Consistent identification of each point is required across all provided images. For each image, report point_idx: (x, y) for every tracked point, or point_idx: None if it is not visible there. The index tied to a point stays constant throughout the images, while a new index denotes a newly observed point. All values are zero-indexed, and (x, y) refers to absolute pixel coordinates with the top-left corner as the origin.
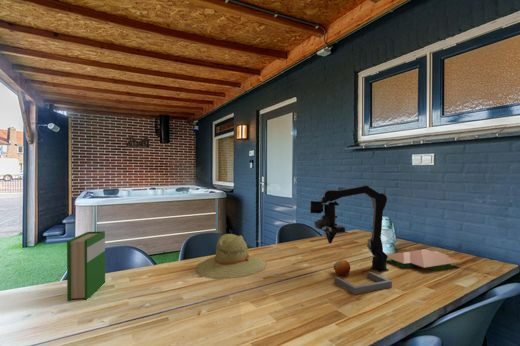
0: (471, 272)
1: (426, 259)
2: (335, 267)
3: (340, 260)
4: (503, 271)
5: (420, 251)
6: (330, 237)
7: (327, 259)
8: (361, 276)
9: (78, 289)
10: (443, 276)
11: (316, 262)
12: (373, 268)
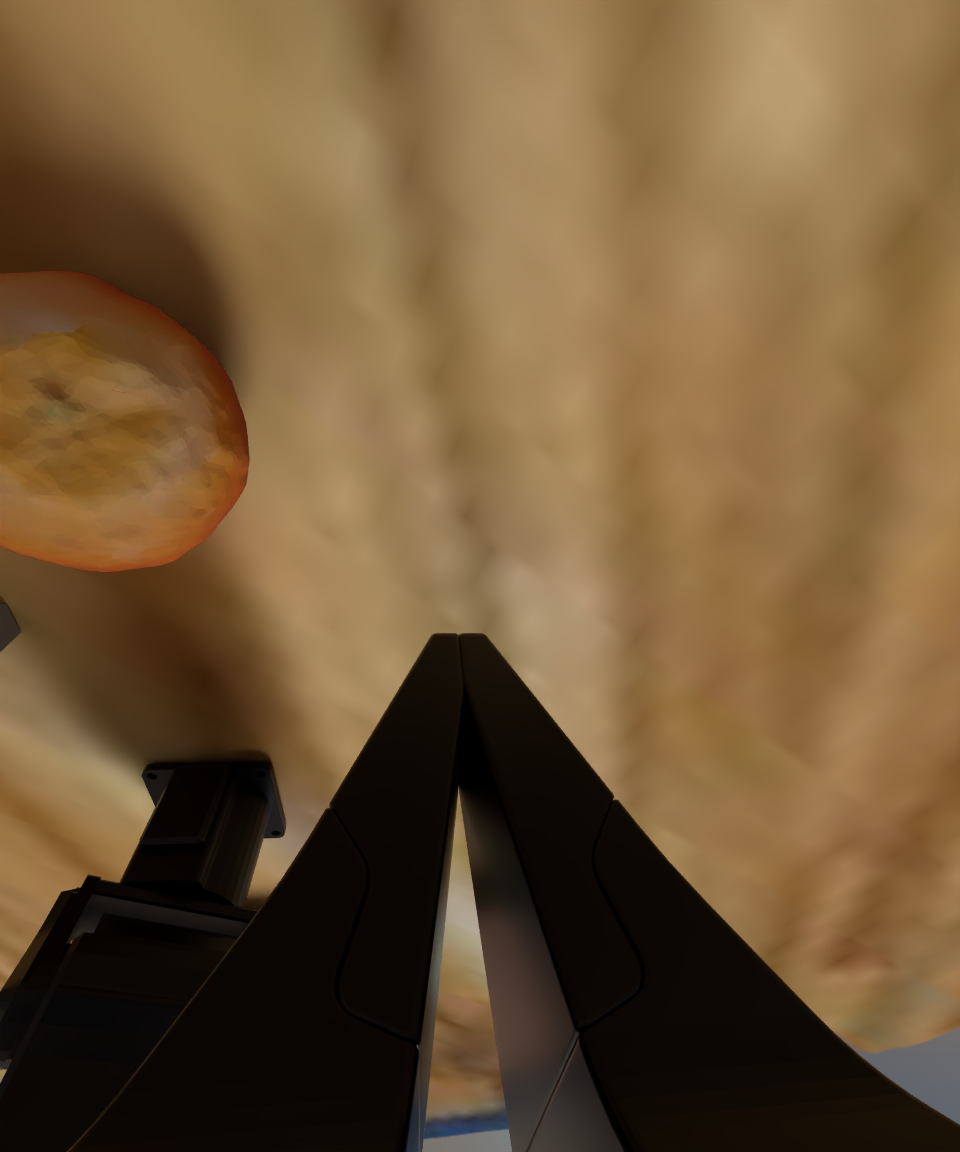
0: None
1: None
2: (46, 284)
3: (80, 471)
4: None
5: None
6: (321, 848)
7: (713, 582)
8: (30, 562)
9: None
10: (9, 975)
11: (728, 377)
12: (205, 767)
